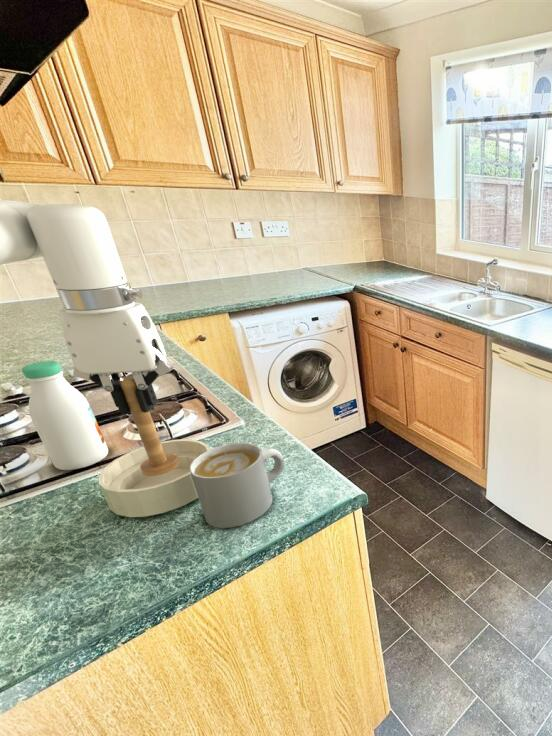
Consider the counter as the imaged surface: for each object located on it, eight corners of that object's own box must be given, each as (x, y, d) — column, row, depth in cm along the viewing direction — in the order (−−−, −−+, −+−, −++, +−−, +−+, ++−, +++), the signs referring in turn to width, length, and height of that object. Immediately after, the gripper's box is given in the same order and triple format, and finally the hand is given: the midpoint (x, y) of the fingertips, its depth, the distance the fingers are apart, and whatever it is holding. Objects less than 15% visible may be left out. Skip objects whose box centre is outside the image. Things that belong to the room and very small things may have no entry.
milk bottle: (106, 463, 81) (65, 368, 72) (50, 476, 77) (0, 377, 68) (112, 444, 86) (75, 354, 78) (60, 455, 82) (15, 361, 74)
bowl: (94, 498, 72) (81, 470, 70) (191, 456, 84) (183, 431, 82) (137, 534, 66) (124, 504, 63) (235, 482, 78) (228, 456, 75)
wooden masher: (136, 469, 72) (100, 379, 65) (169, 455, 76) (139, 369, 69) (151, 479, 70) (115, 387, 63) (184, 465, 74) (154, 376, 67)
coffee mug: (214, 537, 66) (198, 486, 62) (198, 505, 72) (182, 457, 68) (301, 499, 75) (292, 453, 71) (280, 474, 81) (271, 429, 77)
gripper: (174, 291, 66) (204, 395, 73) (46, 292, 61) (93, 402, 69) (151, 303, 59) (187, 416, 67) (6, 305, 55) (63, 425, 63)
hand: (139, 408), depth 68 cm, fingers closed on wooden masher
